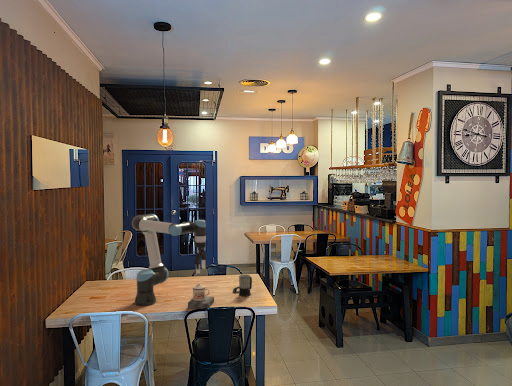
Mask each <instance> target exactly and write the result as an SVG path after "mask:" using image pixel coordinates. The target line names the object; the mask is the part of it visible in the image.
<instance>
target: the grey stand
mask: <svg viewBox="0 0 512 386" xmlns="http://www.w3.org/2000/svg"><path fill="white" fill-rule="evenodd" d="M214 303H215V296H209V295H207V296H205V300H203V301H194V300H193V297H192V298H190V300H189V301H188V302H187V308H188V309H198V310H202V309H201V308H209V309H210V308H211V307H212V305H214ZM210 306H211V307H210Z"/></svg>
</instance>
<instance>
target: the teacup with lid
mask: <svg viewBox="0 0 512 386" xmlns="http://www.w3.org/2000/svg"><path fill="white" fill-rule="evenodd" d="M206 291H208V292H207V293H206ZM209 294H210V289H208V288H206V286H205V285H203V284H201V283H199V282H198V283H197V284H196V285H194V286H192V296H193V297H192V298H193V300H194V301H203V300H205V296H209Z"/></svg>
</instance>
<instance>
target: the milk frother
mask: <svg viewBox="0 0 512 386" xmlns="http://www.w3.org/2000/svg"><path fill="white" fill-rule="evenodd" d="M238 279H239V282H238V285H239V286H236V287H234V288H233V289H232V292H233V294H238V296H240V297H249V296H251V290H252V288H253V287H252V284H253V278H252V276H251V275H250V274H241V275H238Z"/></svg>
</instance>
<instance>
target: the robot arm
mask: <svg viewBox="0 0 512 386" xmlns="http://www.w3.org/2000/svg"><path fill="white" fill-rule="evenodd" d="M131 226H132V228H133V229H134V230H135V231H139V232H142V234H143V235H144V238H145V244H146V248H147V255H148V260H149V262H148V263H149V267H148V268H146V269H142V270H139V271H138V272H137V274H136V296H135V298H134V305H136V306H139V307H140V306H141V307H145V306H151V305H154V304H155V303H156V302H157V297H156V294H155V292H154V286H157V285H159V284H163V283H165V282H166V281H167V280H168V279H169V276H170V275H169V274H170V273H169V270H168V269H167V267H165V265H164V263H162V259H161V258H162V257H161V253H160V247H159V246H160V245H159V241H158V235H157V233H161V234H168V235H169V234H170V235H171V236H173V237H174V236H176V237H177V236H181V235H185V234H189V233H190V234H194V241H195V243H194V245H195V248H197V249H196V250H195V259H194V260H195V261H194V265H195V273H196V275H197V274H201V270H206V260H207V259H208V258H207V254H206V247H207V242H206V240H207V235H206V233H207V232H206V227H207V224H206V220H204V219H197V220H194V222H189V221H183V222H182V223H172V222H166V221H160V219H159V217H158V216H157V215H156V214H154V213H147V214H138V215H136V216H134V217H133V219H132V221H131ZM200 263H201V264H200Z"/></svg>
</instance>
